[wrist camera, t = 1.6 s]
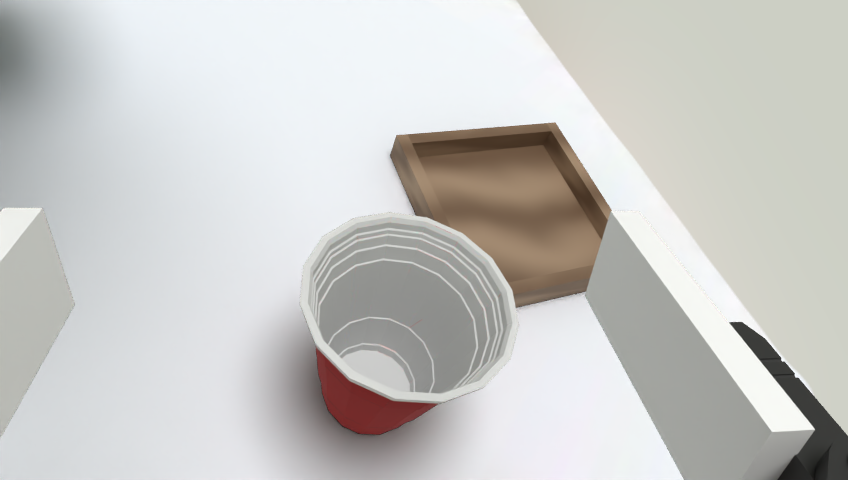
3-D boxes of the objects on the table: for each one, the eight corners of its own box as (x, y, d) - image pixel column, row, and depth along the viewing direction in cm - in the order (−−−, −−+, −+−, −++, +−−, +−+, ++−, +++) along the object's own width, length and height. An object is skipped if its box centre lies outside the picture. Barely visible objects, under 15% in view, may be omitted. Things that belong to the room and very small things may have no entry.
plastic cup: (459, 334, 41) (526, 235, 32) (439, 494, 34) (517, 429, 25) (308, 293, 40) (332, 178, 30) (257, 451, 33) (267, 366, 24)
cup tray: (390, 155, 49) (396, 135, 48) (544, 140, 56) (555, 122, 54) (461, 320, 42) (472, 303, 40) (630, 280, 48) (646, 265, 46)
